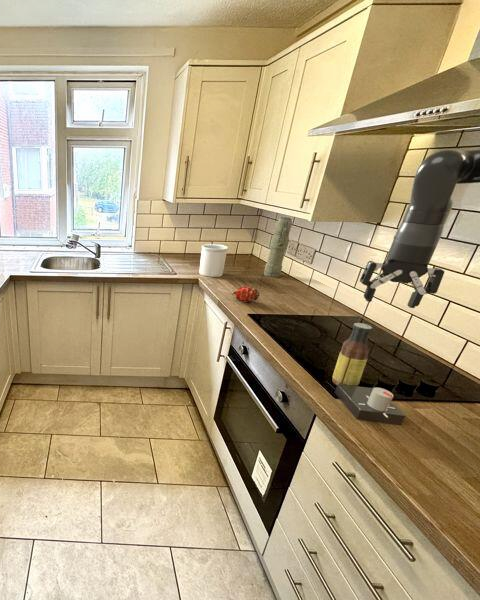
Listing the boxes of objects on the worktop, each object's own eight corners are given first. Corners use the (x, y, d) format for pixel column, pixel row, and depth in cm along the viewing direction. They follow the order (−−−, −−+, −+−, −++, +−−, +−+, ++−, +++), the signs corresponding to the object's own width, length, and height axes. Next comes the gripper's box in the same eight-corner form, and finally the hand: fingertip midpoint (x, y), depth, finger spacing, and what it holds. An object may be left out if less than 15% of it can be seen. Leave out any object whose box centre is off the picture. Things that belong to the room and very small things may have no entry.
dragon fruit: (259, 306, 154) (232, 306, 159) (258, 292, 159) (231, 292, 163) (261, 297, 148) (233, 297, 152) (260, 282, 152) (232, 282, 156)
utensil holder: (193, 273, 198) (197, 246, 192) (204, 269, 208) (209, 242, 201) (216, 279, 188) (221, 250, 182) (227, 274, 198) (232, 246, 191)
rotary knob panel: (373, 397, 90) (377, 388, 89) (405, 429, 79) (410, 420, 78) (334, 392, 92) (337, 383, 91) (360, 423, 81) (364, 414, 80)
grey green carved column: (266, 277, 191) (280, 219, 178) (261, 272, 202) (274, 216, 189) (282, 278, 189) (298, 219, 176) (276, 273, 200) (290, 216, 187)
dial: (363, 402, 84) (369, 388, 82) (373, 399, 85) (379, 385, 83) (380, 413, 80) (387, 397, 78) (390, 409, 81) (398, 394, 79)
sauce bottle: (359, 386, 95) (384, 327, 87) (352, 393, 92) (376, 333, 84) (334, 375, 100) (355, 319, 92) (326, 382, 97) (347, 324, 89)
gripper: (382, 241, 75) (358, 303, 81) (465, 248, 69) (433, 314, 76) (371, 236, 81) (350, 294, 88) (447, 242, 76) (419, 303, 82)
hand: (388, 303), depth 82 cm, fingers open, 8 cm apart
